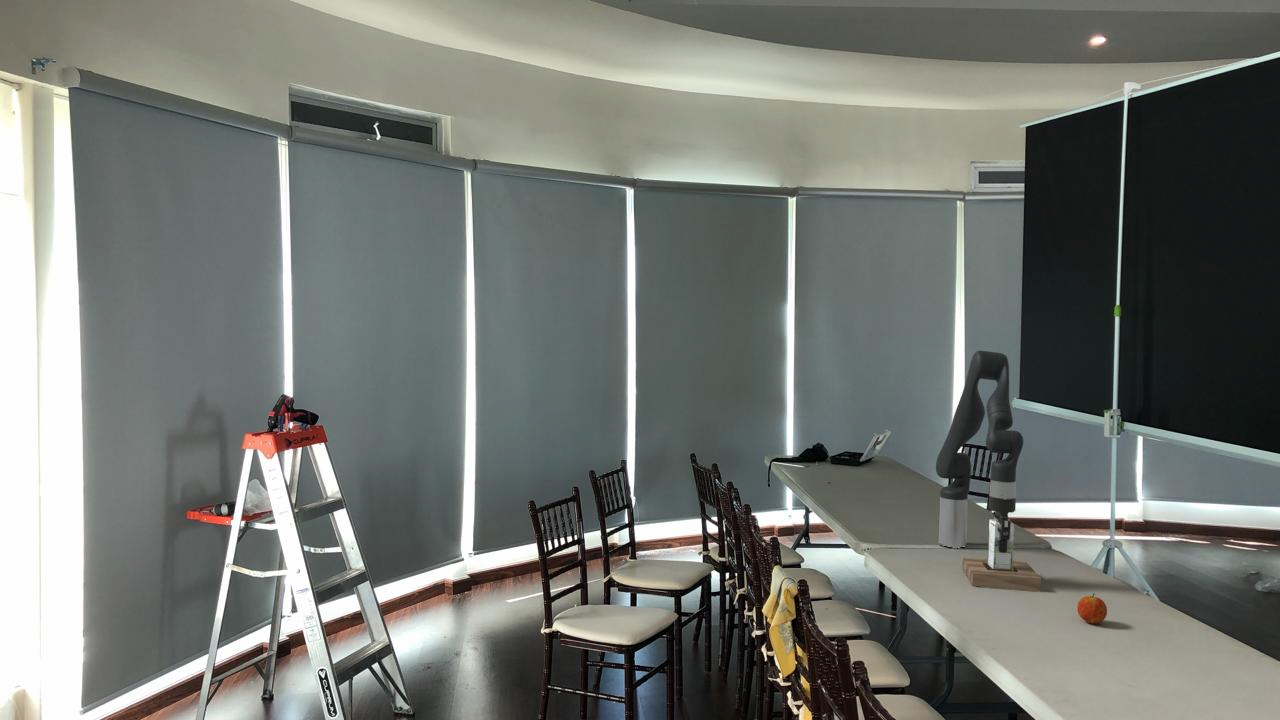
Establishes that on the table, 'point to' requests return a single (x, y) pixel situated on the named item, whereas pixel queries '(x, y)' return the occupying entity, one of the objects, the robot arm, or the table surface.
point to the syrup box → (994, 556)
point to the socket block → (1001, 575)
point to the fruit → (1092, 609)
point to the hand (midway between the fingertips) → (1000, 549)
